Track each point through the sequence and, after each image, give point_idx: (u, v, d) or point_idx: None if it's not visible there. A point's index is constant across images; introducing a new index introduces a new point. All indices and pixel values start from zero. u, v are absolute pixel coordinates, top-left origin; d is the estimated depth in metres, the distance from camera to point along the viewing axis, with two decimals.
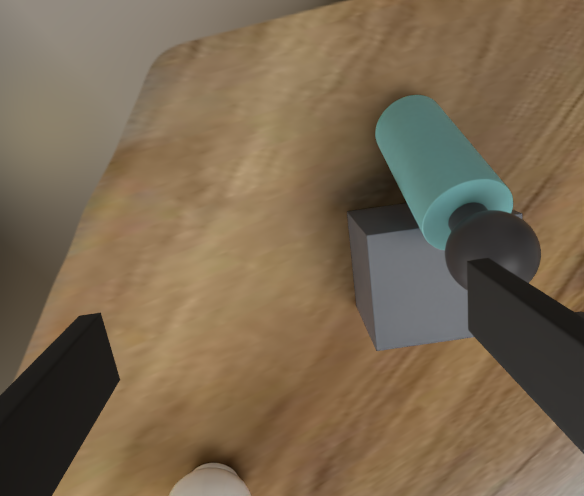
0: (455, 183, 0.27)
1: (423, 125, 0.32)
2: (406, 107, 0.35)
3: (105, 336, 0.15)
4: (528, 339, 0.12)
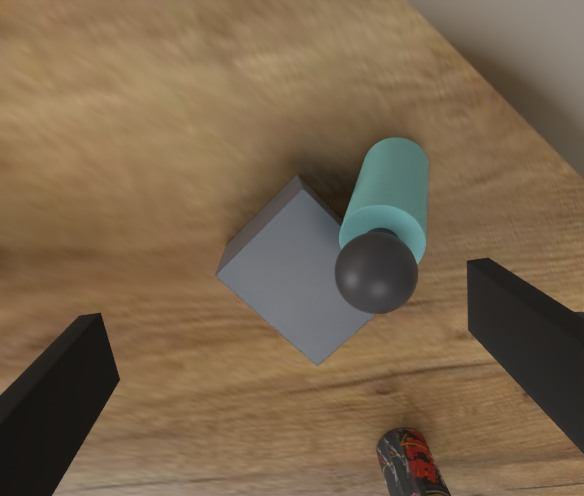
0: (403, 208, 0.28)
1: (413, 166, 0.34)
2: (412, 149, 0.37)
3: (105, 336, 0.15)
4: (528, 339, 0.12)
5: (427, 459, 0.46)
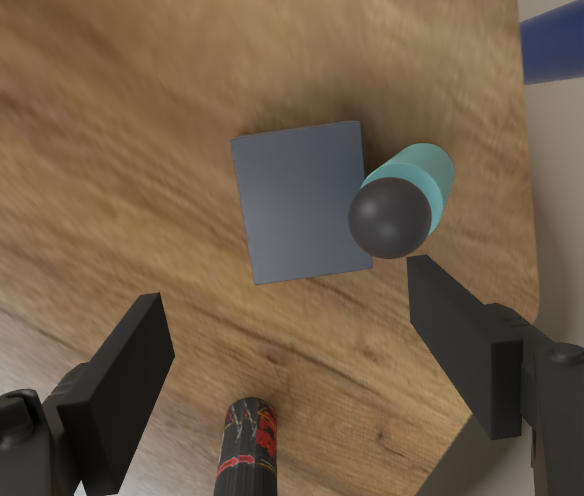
0: (439, 186, 0.29)
1: (449, 174, 0.36)
2: (451, 165, 0.39)
3: (163, 314, 0.16)
4: (446, 328, 0.13)
5: (273, 437, 0.46)
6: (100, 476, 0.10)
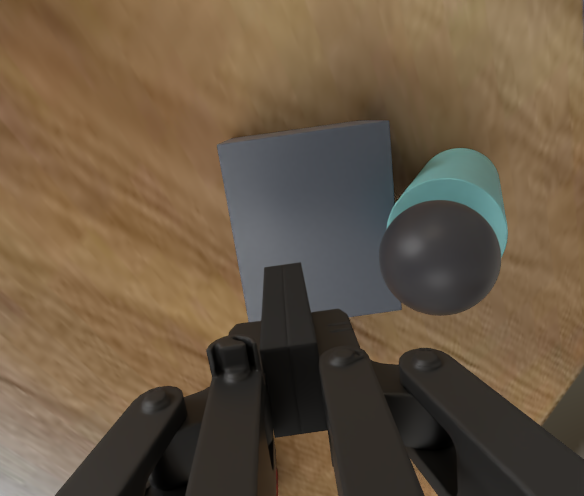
0: (502, 211, 0.21)
1: (500, 189, 0.28)
2: (498, 176, 0.31)
3: None
4: None
5: None
6: (288, 417, 0.12)
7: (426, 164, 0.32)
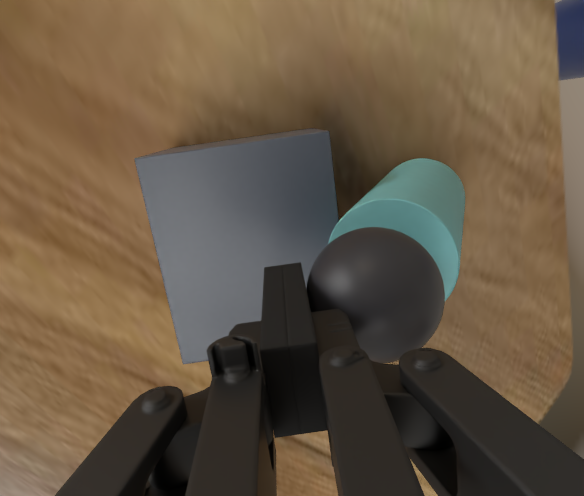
0: (453, 236, 0.18)
1: (461, 205, 0.25)
2: (461, 189, 0.28)
3: None
4: None
5: None
6: (288, 417, 0.12)
7: None
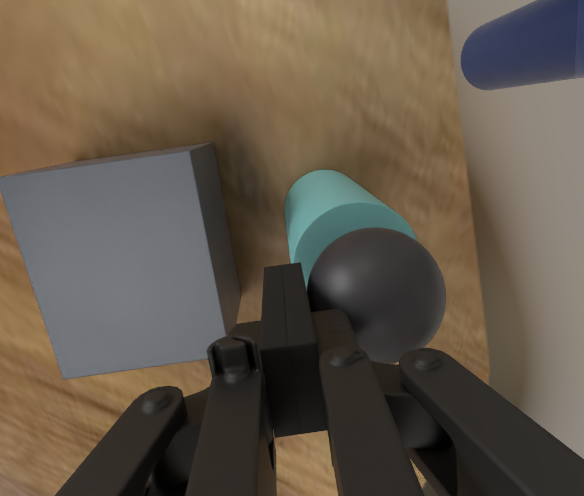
0: (413, 232, 0.20)
1: None
2: None
3: None
4: None
5: None
6: (289, 417, 0.12)
7: (295, 188, 0.30)
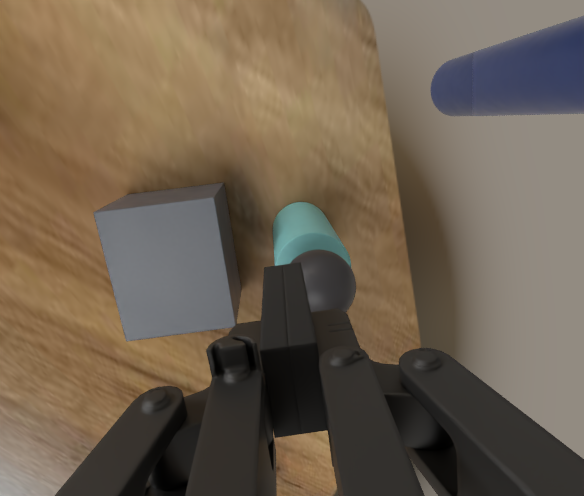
0: (346, 250, 0.34)
1: None
2: None
3: None
4: None
5: None
6: (288, 417, 0.12)
7: (280, 215, 0.43)
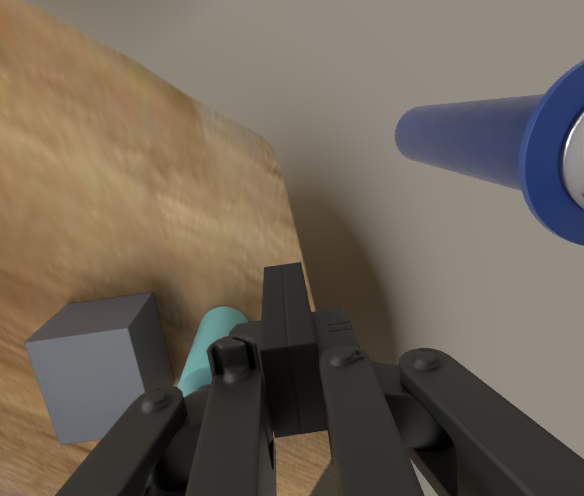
0: None
1: None
2: None
3: None
4: None
5: None
6: (288, 417, 0.12)
7: (201, 322, 0.49)
